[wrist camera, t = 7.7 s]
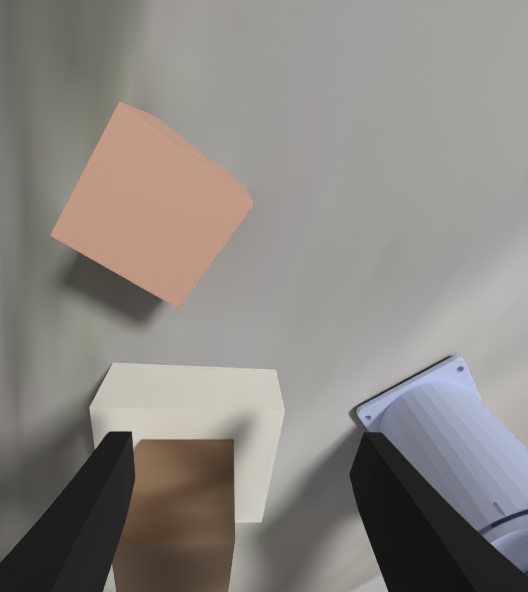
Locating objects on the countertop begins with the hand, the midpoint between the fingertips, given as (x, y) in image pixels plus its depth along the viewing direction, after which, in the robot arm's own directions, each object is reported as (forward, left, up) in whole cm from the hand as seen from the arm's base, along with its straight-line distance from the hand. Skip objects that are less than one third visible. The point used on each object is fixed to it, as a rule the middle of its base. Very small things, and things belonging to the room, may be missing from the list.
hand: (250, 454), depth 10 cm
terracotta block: (+7, -1, -10) cm, 12 cm away
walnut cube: (-5, +8, -6) cm, 11 cm away
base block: (-5, +8, -10) cm, 14 cm away
